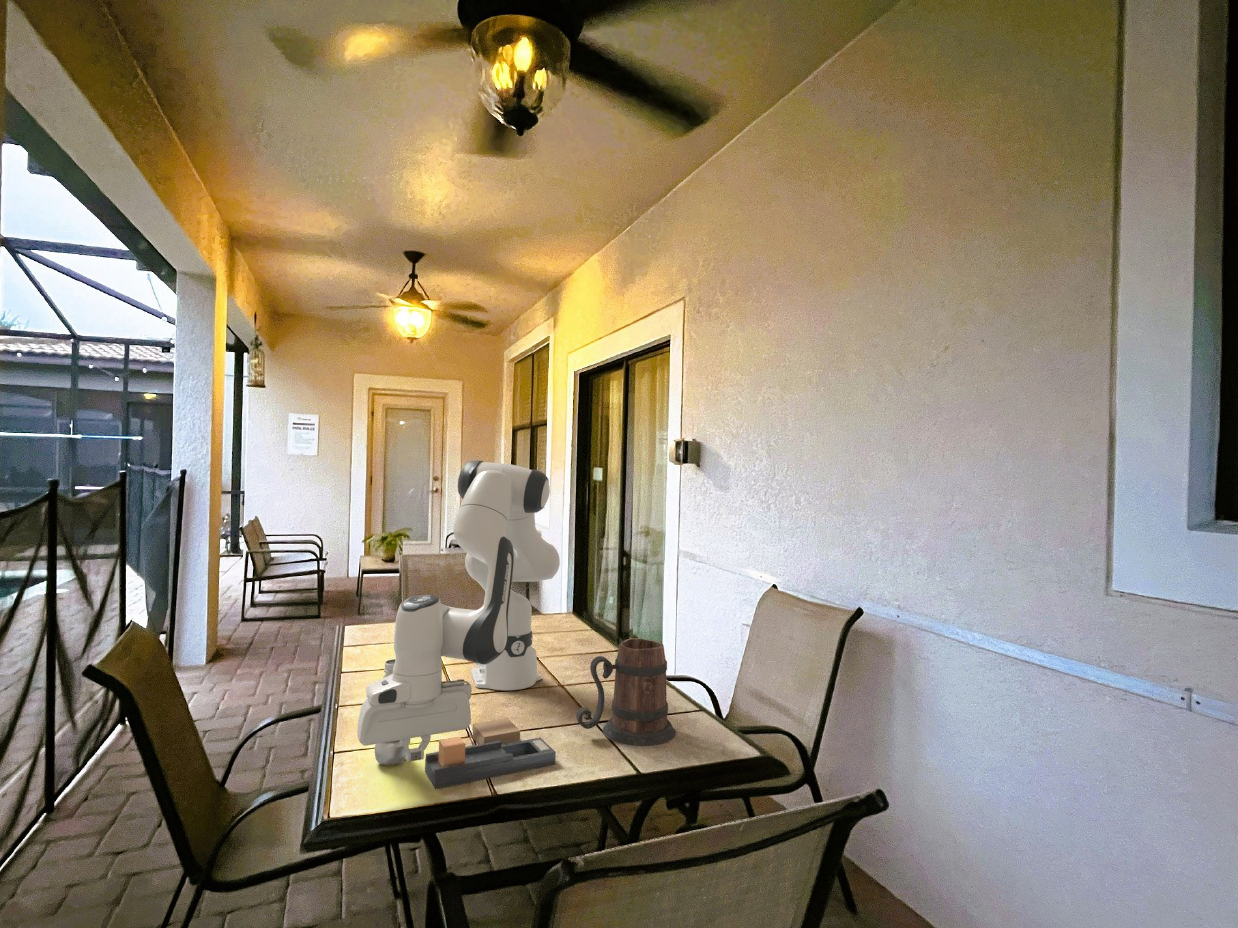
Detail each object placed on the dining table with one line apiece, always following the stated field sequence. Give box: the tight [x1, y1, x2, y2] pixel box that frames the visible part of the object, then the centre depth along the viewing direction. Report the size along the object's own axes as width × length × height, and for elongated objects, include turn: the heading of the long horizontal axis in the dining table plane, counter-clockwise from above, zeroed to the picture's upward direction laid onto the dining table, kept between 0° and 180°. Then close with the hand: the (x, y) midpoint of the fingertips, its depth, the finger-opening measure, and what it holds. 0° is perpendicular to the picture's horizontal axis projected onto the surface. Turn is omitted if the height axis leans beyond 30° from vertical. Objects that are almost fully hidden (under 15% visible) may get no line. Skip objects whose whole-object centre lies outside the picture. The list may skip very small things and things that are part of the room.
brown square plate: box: [472, 717, 521, 745], centre depth 143 cm, size 8×8×3 cm
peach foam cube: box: [438, 736, 466, 766], centre depth 126 cm, size 4×4×4 cm
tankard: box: [575, 637, 677, 747], centre depth 150 cm, size 24×17×20 cm
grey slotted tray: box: [424, 737, 557, 790], centre depth 130 cm, size 8×24×4 cm, turn 119°
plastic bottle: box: [374, 658, 410, 766], centre depth 132 cm, size 6×7×20 cm
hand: (414, 759), depth 123 cm, fingers closed
